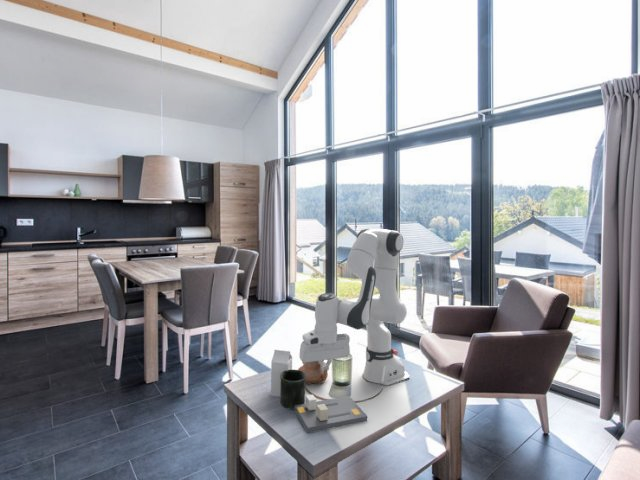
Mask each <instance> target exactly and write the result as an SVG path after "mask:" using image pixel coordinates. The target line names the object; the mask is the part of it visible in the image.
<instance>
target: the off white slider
mask: <svg viewBox="0 0 640 480" xmlns="http://www.w3.org/2000/svg"><path fill="white" fill-rule="evenodd" d="M316 402H317V397H315V396H314V394H308V395H305V404H306V407H307V408H308V410H315V409H316Z"/></svg>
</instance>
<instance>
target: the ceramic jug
mask: <svg viewBox="0 0 640 480" xmlns="http://www.w3.org/2000/svg"><path fill="white" fill-rule="evenodd" d="M301 362H302V361H301ZM326 363H327V362H325V360H323V363H322V364H323V365H325V364H326ZM297 370H300V371H302V372H304V373H305V374H306V379H305V384H308V385H318V384H321V383H324V382H325V381H326V380H327V378H328V376H329V374H328V371H329V370H324V371H321V369H320V364H319V362H318V361H313V362H306V363H304V362H302V365H301V366H299V367H298V369H297Z"/></svg>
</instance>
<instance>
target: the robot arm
mask: <svg viewBox="0 0 640 480" xmlns="http://www.w3.org/2000/svg"><path fill="white" fill-rule="evenodd" d="M403 245H404V238H403V235H402V233H401V232H399V231H397V230H393V229H392V230H390V229H386V228H385V229H384V228H378V229H377V228H371V229H369V228H363V229H361V230H360V231H359V232H358V233H357V235H356V239H355V241H354V243H353V245H352V246H351V249H350V251H349V253H348V255H347V258H346V264H347V268H348V269H349V271H350V272H351V273H352V274H353V275H354V276H356V277H357V278H359V279H360V280H361V286H360V290H359V295H358V298H357V299H356V301H350V300H346V299H343V298H339V297H338V296H337V295H336V294H335V293H332V292H327V293H326V292H325V293H321V294H320V295H318V296H317V298H316V302H315V307H314V308H315V309H314V319H315V324H314V329H312V330H310V331H308V332H306V333H304V334H302V341H301V343H300V347H299V356H298V357H299V359H300V361H301V362H304V363H306V362H313V361H318V362H319V364H320V369H321V371H324V370H328V371H329V370H330V365H331V364H332V361H333V360H334V359H343V358H349V356H350V355H351V351H350V350H351V349H350V348H351V347H350V341H351V338H350V336H349V334H347V333H339V334H338V325H337V324H340V325H345V326H348V327H350V328H352V329H354V330H361V329H363V328H364V327H366V333H367V341H366V342H367V343H366V344H367V345H366V349H365V366H364V369H363V373H362V377H363V379H364V380H366V381H368V382H370V383H375V384H380V383H381V385H383V386H390V384H391V385H394V384H396V383H395V382H397V383H399V382H398V381H400V382H402V381H401V380H404V379H407V378H409V379H410V374H409V373H408V372H407V370H405V365H404V363H402V361H401V359H399V358H397V357H396V356H398V352H399V351H398V350H396V349H393V348H392V347H391V345H392V334H391V331H390V330H389V329H388V327H387V326H385V324H384V322H385V323H389V324H402V322H404V321H405V319H406V318H407V307H406V305H405V304H404V302H403V301H402V300H401V298H400V296H399V294H398V291H397V272H398V254H399V253H400V252H401V251H402V248H403ZM375 288H376V289H377V290H378V294H379V296H378V295H374V291H375ZM323 360H324V361H326V362H325V363H326V364H325V365H323V364H322V363H323V362H324V361H323ZM407 380H408V379H407ZM404 381H405V380H404ZM393 383H394V384H393Z"/></svg>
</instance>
